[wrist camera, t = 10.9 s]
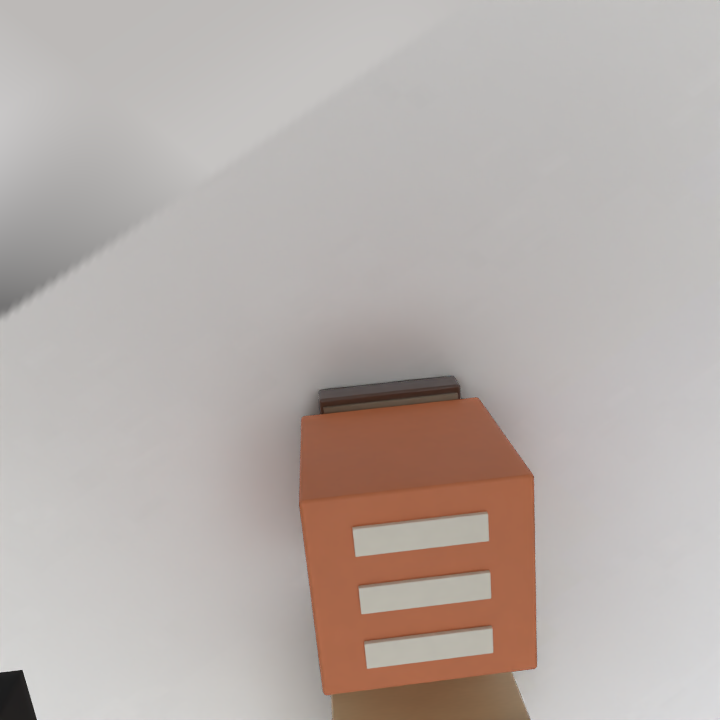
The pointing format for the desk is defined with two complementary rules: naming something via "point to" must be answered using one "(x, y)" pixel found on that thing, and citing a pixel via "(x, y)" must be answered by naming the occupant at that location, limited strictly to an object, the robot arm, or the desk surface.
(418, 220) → the desk surface
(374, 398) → the board
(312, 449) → the striped orange block
